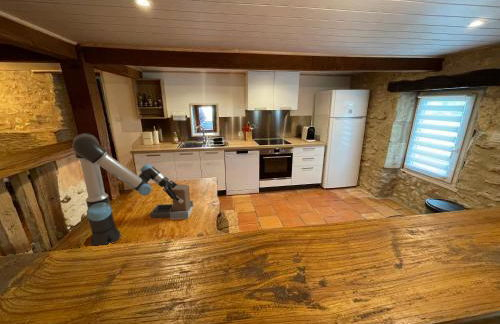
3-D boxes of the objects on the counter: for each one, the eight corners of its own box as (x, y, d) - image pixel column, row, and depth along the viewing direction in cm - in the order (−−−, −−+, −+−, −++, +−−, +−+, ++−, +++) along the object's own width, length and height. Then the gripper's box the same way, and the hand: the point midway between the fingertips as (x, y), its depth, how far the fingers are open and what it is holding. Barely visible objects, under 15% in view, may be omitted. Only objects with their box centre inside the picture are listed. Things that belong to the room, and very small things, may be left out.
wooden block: (186, 214, 150) (184, 189, 145) (173, 213, 151) (170, 189, 146) (191, 207, 160) (189, 184, 154) (179, 207, 161) (176, 184, 155)
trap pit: (151, 218, 149) (150, 213, 148) (157, 209, 162) (157, 204, 160) (169, 217, 149) (168, 213, 148) (175, 208, 162) (174, 204, 161)
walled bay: (170, 219, 147) (169, 212, 146) (177, 207, 165) (176, 200, 163) (188, 218, 148) (187, 212, 146) (193, 206, 165) (192, 200, 164)
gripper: (163, 177, 159) (185, 195, 165) (151, 190, 137) (177, 209, 142) (169, 171, 158) (191, 188, 164) (158, 182, 136) (183, 202, 141)
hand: (184, 198), depth 153 cm, fingers closed on wooden block, 11 cm apart
